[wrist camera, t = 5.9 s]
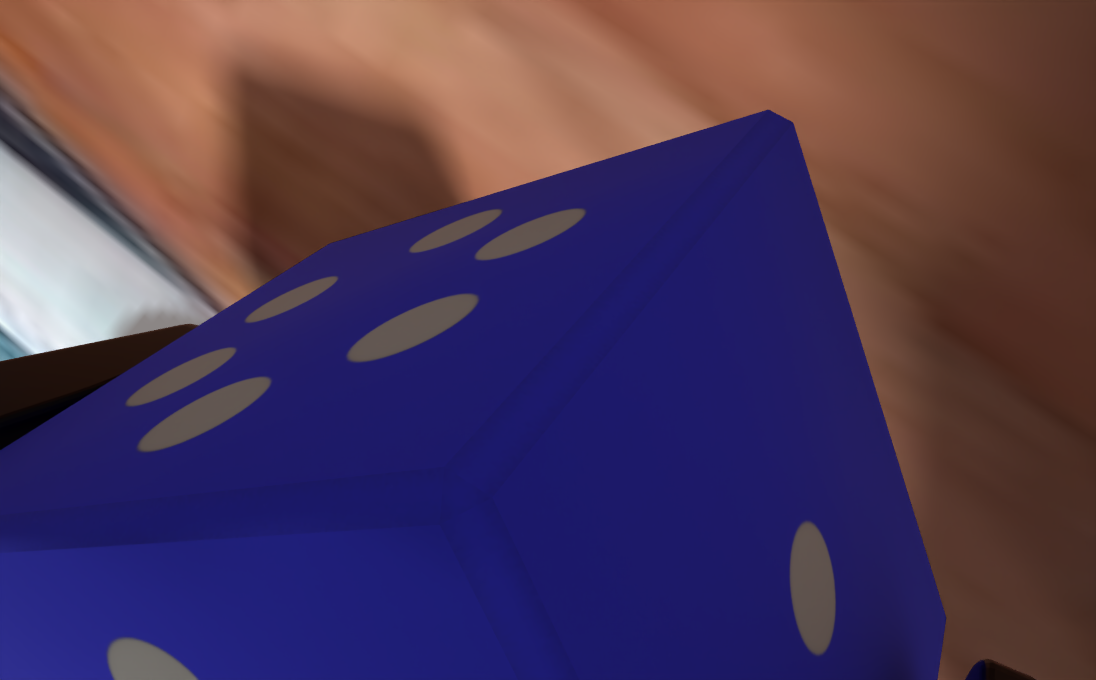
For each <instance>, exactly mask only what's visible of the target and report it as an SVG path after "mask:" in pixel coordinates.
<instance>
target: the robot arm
mask: <svg viewBox="0 0 1096 680" xmlns="http://www.w3.org/2000/svg"><path fill="white" fill-rule="evenodd" d="M196 327H198V325H194V324H184V325H178V326H173V327H168V328H164V329H158V330H154V331H149V332H144V333H139V334H134V335H129V336H124V337H119V338H114V339H109V340H104V341H99V342H94V343H89V344H84V345H79V346H74V347H69V348H64V349H59V350H54V351H49V352H44V353H39V354H34V355H29V356H24V357H19V358H14V359H9V360H4V361H0V450H2V449H3V448H5V447H6V446H8V445H10V444H11V443H13V442H14V441H16V440H18V439H19V438H21V437H22V436H24V435H25V434H27V433H29V432H30V431H32V430H33V429H35V428H37V427H38V426H40V425H41V424H43V423H45V422H46V421H48V420H49V419H51V418H53V417H54V416H56V415H57V414H59V413H61V412H62V411H64V410H65V409H67V408H69V407H70V406H72V405H73V404H75V403H76V402H78V401H80V400H81V399H83V398H84V397H86V396H88V395H89V394H91V393H92V392H94V391H96V390H97V389H99V388H100V387H102V386H104V385H105V384H107V383H108V382H110V381H112V380H113V379H115V378H116V377H118V376H119V375H121V374H123V373H124V372H126V371H127V370H129V369H131V368H132V367H134V366H135V365H137V364H139V363H140V362H142V361H143V360H145V359H147V358H148V357H150V356H151V355H153V354H155V353H156V352H158V351H159V350H161V349H162V348H164V347H166V346H167V345H169V344H170V343H172V342H174V341H175V340H177V339H178V338H180V337H182V336H183V335H185V334H186V333H188V332H190V331H191V330H193V329H194V328H196ZM965 680H1036V679H1034V678H1033V677H1031V676H1028V675H1026V674H1024V673H1021V672H1019V671H1017V670H1014V669H1012V668H1010V667H1007V666H1005V665H1002V664H1000V663H998V662H995V661H993V660H990V659H985V660H980V661H979V662H977V663H976V664H975V665H974V666H973V667H972V669H971V670H970V672H969V674H968V675H967V677H966V679H965Z"/></svg>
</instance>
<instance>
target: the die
mask: <svg viewBox="0 0 1096 680" xmlns="http://www.w3.org/2000/svg"><path fill="white" fill-rule="evenodd" d="M945 624H946V615H945V612H944V608H943V605H942V602H941V599H940V596H939V592H938V589H937V586H936V583H935V579H934V576H933V573H932V570H931V566H930V563H929V560H928V557H927V554H926V550H925V547H924V544H923V541H922V537H921V534H920V531H919V528H918V524H917V521H916V518H915V515H914V512H913V508H912V505H911V502H910V499H909V495H908V492H907V489H906V486H905V482H904V479H903V476H902V473H901V470H900V466H899V463H898V460H897V457H896V453H895V450H894V447H893V444H892V440H891V437H890V434H889V431H888V428H887V424H886V421H885V418H884V415H883V411H882V408H881V405H880V402H879V398H878V395H877V392H876V389H875V386H874V382H873V379H872V376H871V373H870V369H869V366H868V363H867V360H866V356H865V353H864V350H863V347H862V344H861V340H860V337H859V334H858V331H857V327H856V324H855V321H854V318H853V314H852V311H851V308H850V305H849V301H848V298H847V295H846V292H845V289H844V285H843V282H842V279H841V276H840V272H839V269H838V266H837V263H836V259H835V256H834V253H833V250H832V247H831V243H830V240H829V237H828V234H827V230H826V227H825V224H824V221H823V217H822V214H821V211H820V208H819V205H818V201H817V198H816V195H815V192H814V188H813V185H812V182H811V179H810V175H809V172H808V169H807V166H806V163H805V159H804V156H803V153H802V150H801V146H800V143H799V140H798V137H797V133H796V130H795V127H794V124H793V122H791V121H789V120H787V119H785V118H784V117H782V116H780V115H778V114H776V113H774V112H772V111H770V110H766V111H762V112H759V113H756V114H753V115H749V116H746V117H743V118H739V119H736V120H733V121H730V122H726V123H723V124H720V125H717V126H713V127H710V128H707V129H703V130H700V131H697V132H694V133H690V134H687V135H684V136H680V137H677V138H674V139H671V140H667V141H664V142H661V143H658V144H654V145H651V146H648V147H644V148H641V149H638V150H635V151H631V152H628V153H625V154H621V155H618V156H615V157H612V158H608V159H605V160H602V161H599V162H595V163H592V164H589V165H585V166H582V167H579V168H576V169H572V170H569V171H566V172H563V173H559V174H556V175H553V176H549V177H546V178H543V179H540V180H536V181H533V182H530V183H526V184H523V185H520V186H517V187H513V188H510V189H507V190H504V191H500V192H497V193H494V194H490V195H487V196H484V197H481V198H477V199H474V200H471V201H468V202H464V203H461V204H458V205H454V206H451V207H448V208H445V209H441V210H438V211H435V212H431V213H428V214H425V215H422V216H418V217H415V218H412V219H409V220H405V221H402V222H399V223H395V224H392V225H389V226H386V227H382V228H379V229H376V230H373V231H369V232H366V233H363V234H359V235H356V236H353V237H350V238H346V239H343V240H340V241H336V242H333V243H330V244H328V245H327V246H325V247H323V248H322V249H320V250H319V251H317V252H315V253H314V254H312V255H311V256H309V257H307V258H306V259H304V260H303V261H301V262H299V263H298V264H296V265H295V266H293V267H292V268H290V269H288V270H287V271H285V272H284V273H282V274H280V275H279V276H277V277H276V278H274V279H272V280H271V281H269V282H268V283H266V284H264V285H263V286H261V287H260V288H258V289H256V290H255V291H253V292H252V293H250V294H249V295H247V296H245V297H244V298H242V299H241V300H239V301H237V302H236V303H234V304H233V305H231V306H229V307H228V308H226V309H225V310H223V311H221V312H220V313H218V314H217V315H215V316H213V317H212V318H210V319H209V320H207V321H206V322H204V323H202V324H201V325H199V326H198V327H196V328H194V329H193V330H191V331H190V332H188V333H186V334H185V335H183V336H182V337H180V338H178V339H177V340H175V341H174V342H172V343H170V344H169V345H167V346H166V347H164V348H162V349H161V350H159V351H158V352H156V353H155V354H153V355H151V356H150V357H148V358H147V359H145V360H143V361H142V362H140V363H139V364H137V365H135V366H134V367H132V368H131V369H129V370H127V371H126V372H124V373H123V374H121V375H119V376H118V377H116V378H115V379H113V380H112V381H110V382H108V383H107V384H105V385H104V386H102V387H100V388H99V389H97V390H96V391H94V392H92V393H91V394H89V395H88V396H86V397H84V398H83V399H81V400H80V401H78V402H76V403H75V404H73V405H72V406H70V407H69V408H67V409H65V410H64V411H62V412H61V413H59V414H57V415H56V416H54V417H53V418H51V419H49V420H48V421H46V422H45V423H43V424H41V425H40V426H38V427H37V428H35V429H33V430H32V431H30V432H29V433H27V434H25V435H24V436H22V437H21V438H19V439H18V440H16V441H14V442H13V443H11V444H10V445H8V446H6V447H5V448H3V449H2V450H0V680H937V679H938V672H939V665H940V658H941V651H942V644H943V638H944V631H945Z"/></svg>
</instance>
